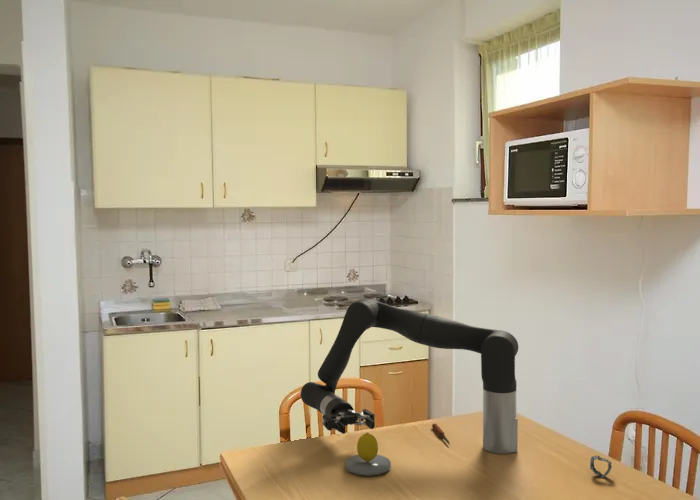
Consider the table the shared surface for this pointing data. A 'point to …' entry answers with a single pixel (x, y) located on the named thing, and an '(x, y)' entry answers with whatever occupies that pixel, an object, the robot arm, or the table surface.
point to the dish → (368, 465)
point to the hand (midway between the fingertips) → (358, 427)
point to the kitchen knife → (439, 432)
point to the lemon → (367, 447)
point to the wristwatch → (597, 457)
